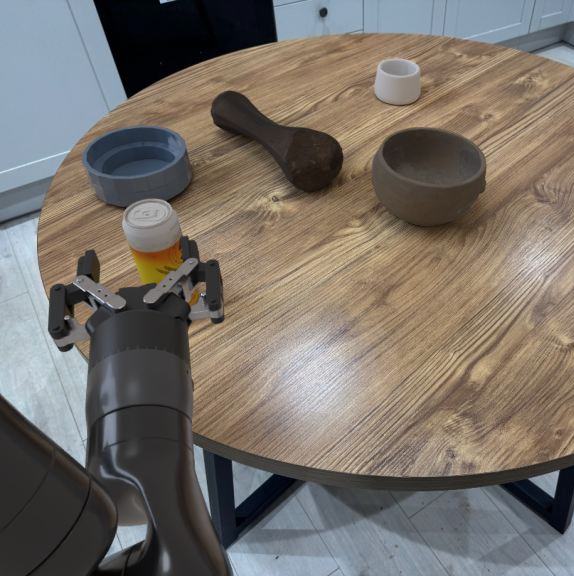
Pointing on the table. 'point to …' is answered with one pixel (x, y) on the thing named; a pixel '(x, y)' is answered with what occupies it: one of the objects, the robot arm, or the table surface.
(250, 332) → the table surface
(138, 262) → the beer can
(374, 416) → the table surface
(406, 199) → the bowl
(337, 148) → the dark brown pestle
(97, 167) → the blue bowl
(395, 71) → the white tapered round piece
